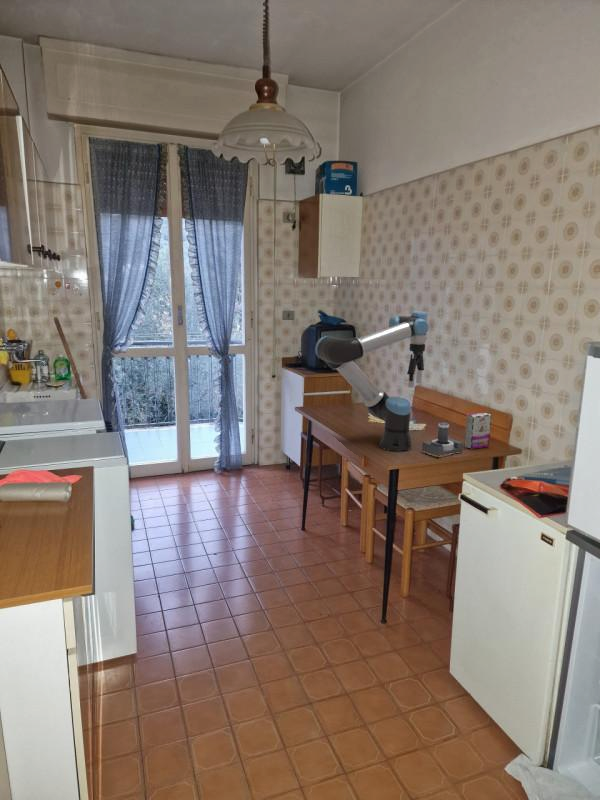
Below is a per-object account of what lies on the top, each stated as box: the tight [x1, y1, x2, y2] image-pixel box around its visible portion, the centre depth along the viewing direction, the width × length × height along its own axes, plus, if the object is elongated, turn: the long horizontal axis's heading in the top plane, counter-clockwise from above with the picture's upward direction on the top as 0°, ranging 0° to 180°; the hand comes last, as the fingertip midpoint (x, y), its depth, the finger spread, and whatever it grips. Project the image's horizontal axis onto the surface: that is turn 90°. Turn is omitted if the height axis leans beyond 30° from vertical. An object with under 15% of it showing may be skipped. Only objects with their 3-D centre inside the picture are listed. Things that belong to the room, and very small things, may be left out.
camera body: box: [421, 436, 464, 456], centre depth 252 cm, size 16×10×6 cm, turn 122°
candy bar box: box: [464, 412, 492, 450], centre depth 260 cm, size 11×5×16 cm, turn 114°
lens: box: [437, 421, 450, 444], centre depth 251 cm, size 5×5×12 cm
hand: (415, 385), depth 273 cm, fingers open, 13 cm apart
